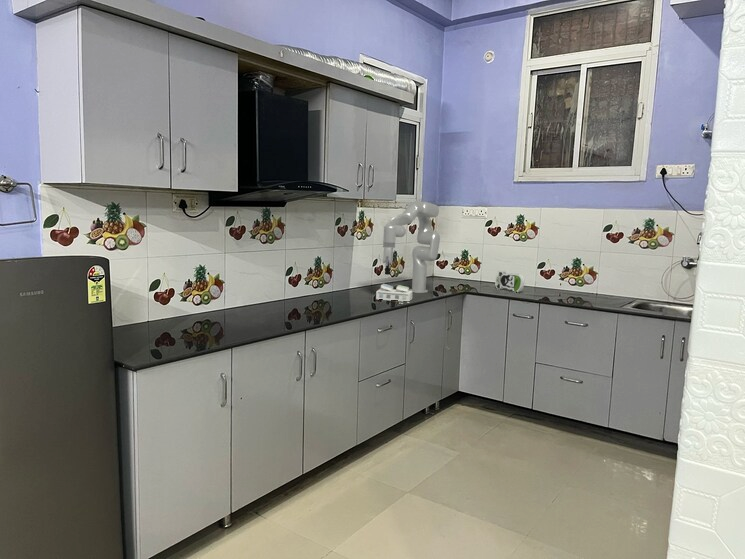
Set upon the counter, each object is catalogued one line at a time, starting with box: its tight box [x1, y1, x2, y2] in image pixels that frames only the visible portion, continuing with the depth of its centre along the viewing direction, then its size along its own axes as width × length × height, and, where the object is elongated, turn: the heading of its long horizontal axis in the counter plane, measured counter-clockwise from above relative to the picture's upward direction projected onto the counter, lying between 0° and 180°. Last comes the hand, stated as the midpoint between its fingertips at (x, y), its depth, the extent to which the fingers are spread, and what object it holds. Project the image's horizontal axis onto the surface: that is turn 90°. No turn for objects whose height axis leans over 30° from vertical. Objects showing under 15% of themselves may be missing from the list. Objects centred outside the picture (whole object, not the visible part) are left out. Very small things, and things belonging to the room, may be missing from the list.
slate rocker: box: [380, 283, 394, 291], centre depth 351 cm, size 6×7×2 cm
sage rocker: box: [395, 284, 410, 292], centre depth 349 cm, size 6×7×2 cm
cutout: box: [494, 270, 525, 293], centre depth 404 cm, size 15×3×25 cm
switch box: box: [375, 287, 414, 302], centre depth 350 cm, size 13×21×6 cm, turn 78°
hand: (387, 274), depth 349 cm, fingers closed
